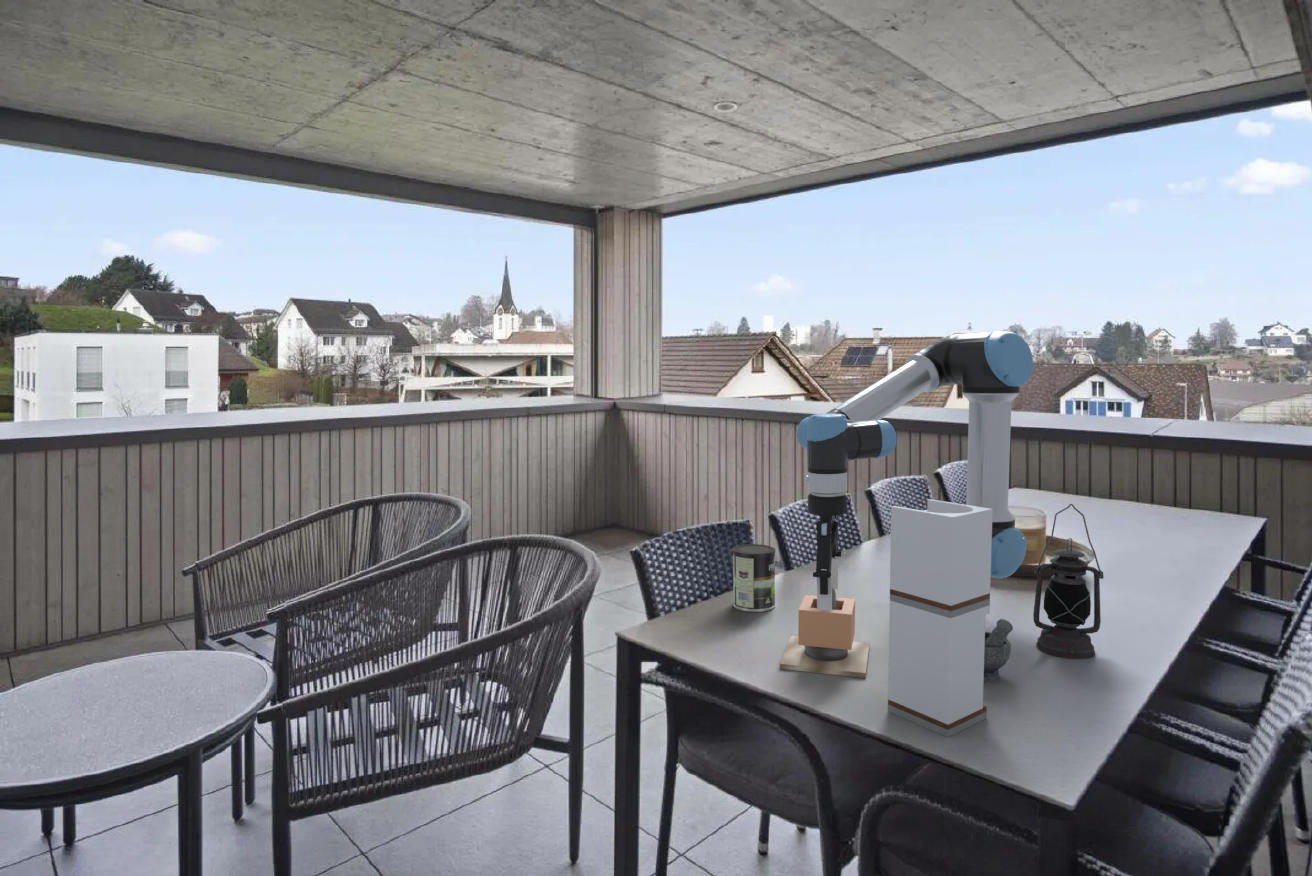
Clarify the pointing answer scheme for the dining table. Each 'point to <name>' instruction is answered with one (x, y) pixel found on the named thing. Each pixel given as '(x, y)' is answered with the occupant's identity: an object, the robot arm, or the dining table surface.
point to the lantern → (1067, 603)
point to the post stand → (826, 657)
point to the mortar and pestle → (996, 649)
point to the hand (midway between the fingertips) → (827, 598)
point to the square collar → (827, 624)
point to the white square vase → (939, 614)
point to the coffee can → (754, 577)
